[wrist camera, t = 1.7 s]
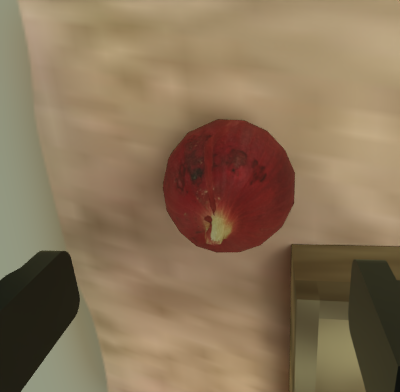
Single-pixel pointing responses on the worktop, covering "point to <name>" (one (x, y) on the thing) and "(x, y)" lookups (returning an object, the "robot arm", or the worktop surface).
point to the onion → (228, 186)
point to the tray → (326, 316)
